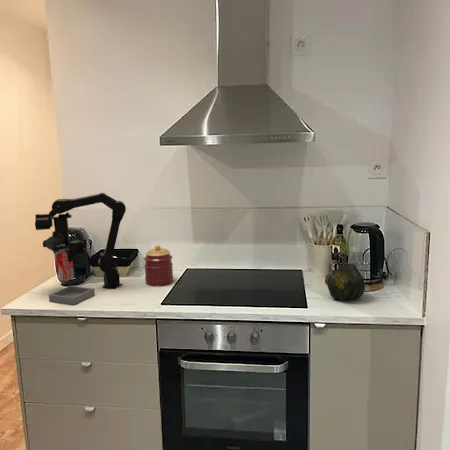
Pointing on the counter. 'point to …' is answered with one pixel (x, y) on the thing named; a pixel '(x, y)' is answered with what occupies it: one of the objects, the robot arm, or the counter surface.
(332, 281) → the squash
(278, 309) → the counter surface
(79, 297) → the bin
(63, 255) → the soda can
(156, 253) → the canister
